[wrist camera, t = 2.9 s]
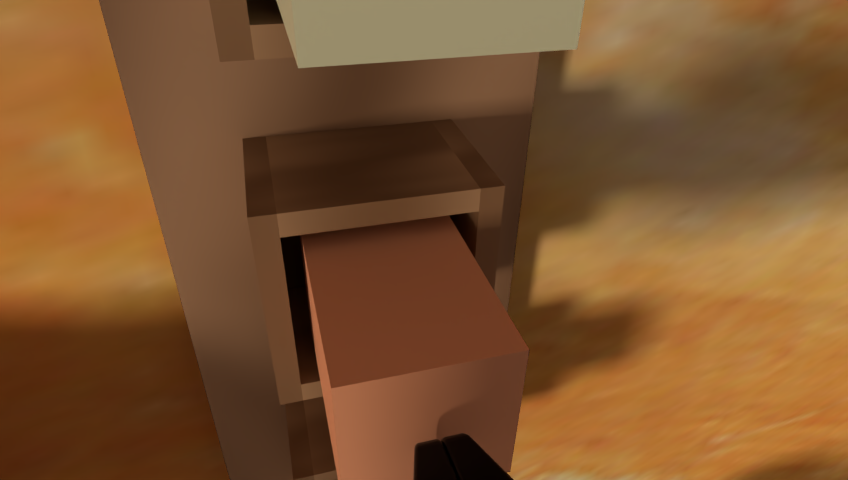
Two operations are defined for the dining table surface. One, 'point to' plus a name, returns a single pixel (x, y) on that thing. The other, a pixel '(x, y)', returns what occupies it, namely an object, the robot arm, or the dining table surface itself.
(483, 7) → the beige rectangular block
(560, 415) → the dining table surface
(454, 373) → the orange rectangular block
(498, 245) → the brown block rack
